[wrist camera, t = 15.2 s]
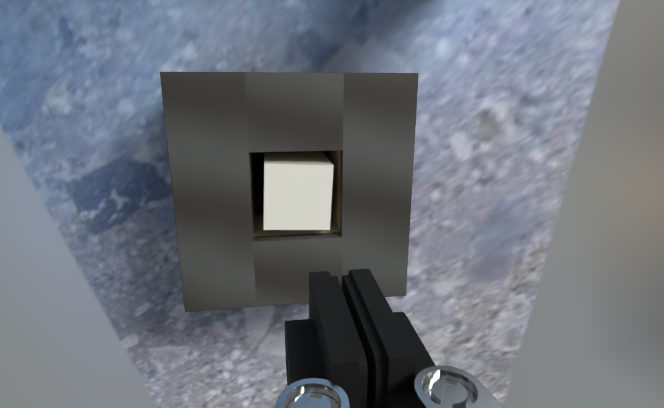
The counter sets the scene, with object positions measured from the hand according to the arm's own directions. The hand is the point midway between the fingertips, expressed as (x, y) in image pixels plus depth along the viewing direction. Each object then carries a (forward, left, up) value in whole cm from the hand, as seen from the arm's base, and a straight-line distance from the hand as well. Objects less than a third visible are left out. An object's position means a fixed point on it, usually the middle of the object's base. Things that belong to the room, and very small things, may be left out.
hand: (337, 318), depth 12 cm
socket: (0, 0, -24) cm, 24 cm away
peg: (0, 0, -24) cm, 24 cm away
